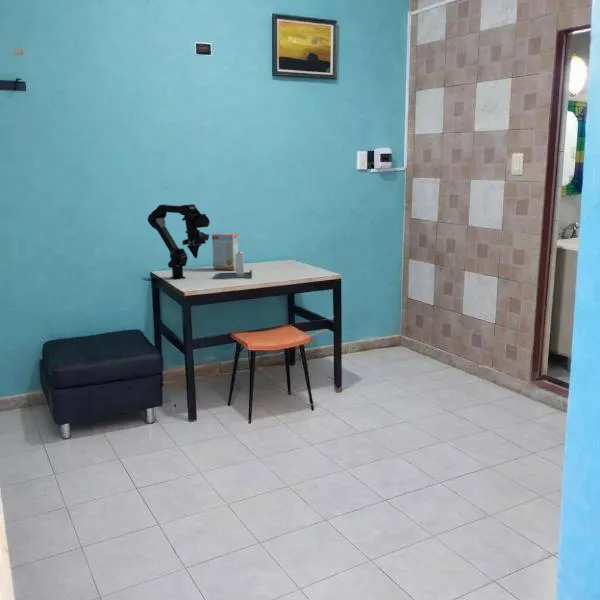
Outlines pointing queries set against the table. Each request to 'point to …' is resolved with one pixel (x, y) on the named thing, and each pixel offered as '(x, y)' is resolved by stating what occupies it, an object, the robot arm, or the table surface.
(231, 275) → the fader track base
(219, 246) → the cracker box
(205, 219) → the robot arm
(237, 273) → the fader cap
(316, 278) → the table surface
